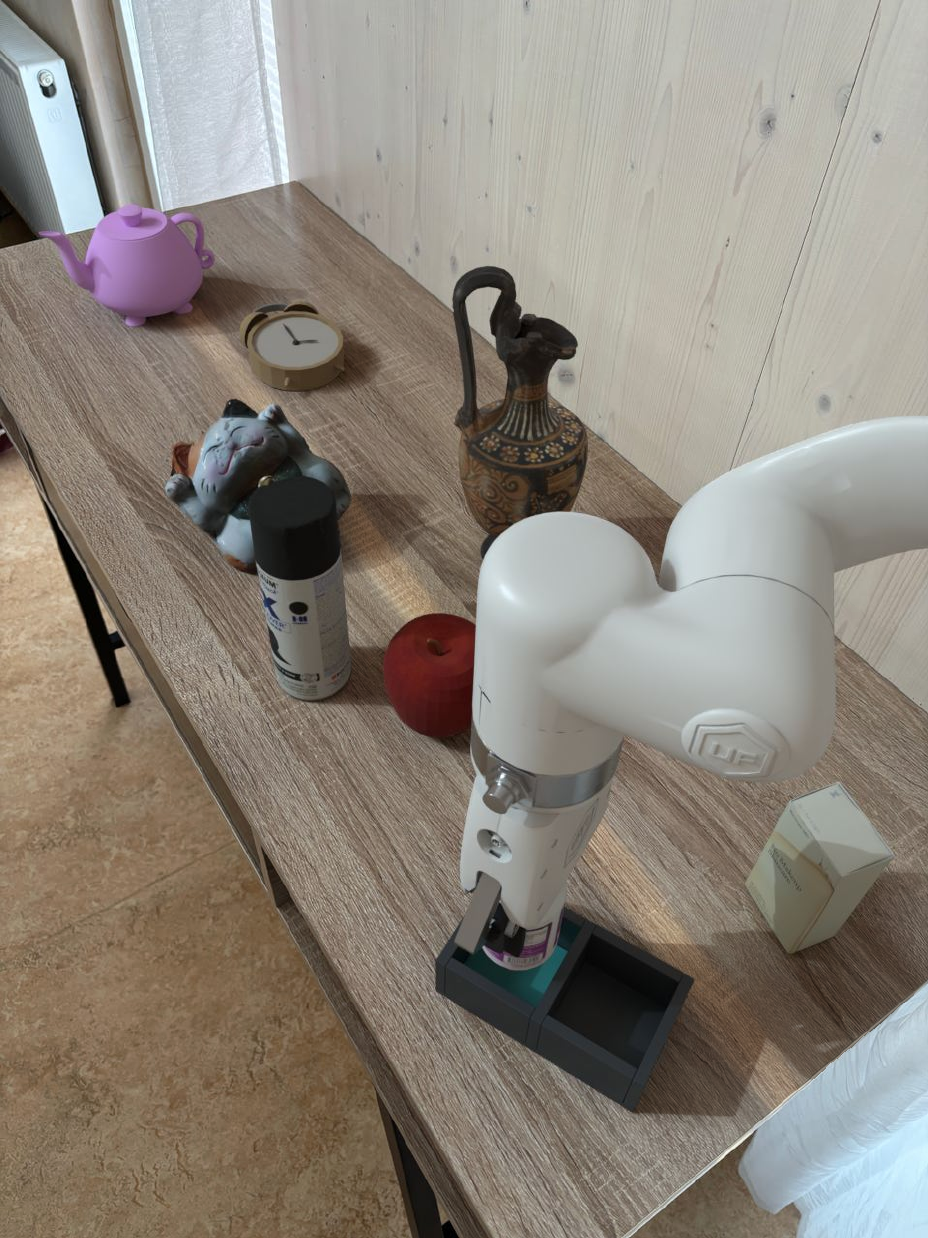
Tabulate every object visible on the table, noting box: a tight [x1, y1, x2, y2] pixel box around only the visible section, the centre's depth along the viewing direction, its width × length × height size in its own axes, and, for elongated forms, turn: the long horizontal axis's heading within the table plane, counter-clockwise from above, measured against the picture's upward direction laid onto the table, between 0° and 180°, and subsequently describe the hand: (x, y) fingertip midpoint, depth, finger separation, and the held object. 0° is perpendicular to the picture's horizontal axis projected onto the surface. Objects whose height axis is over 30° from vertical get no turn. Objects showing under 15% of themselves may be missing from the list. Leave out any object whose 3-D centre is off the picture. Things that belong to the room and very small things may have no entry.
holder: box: [434, 906, 696, 1114], centre depth 69 cm, size 15×8×5 cm, turn 59°
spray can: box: [248, 475, 352, 702], centre depth 82 cm, size 7×7×20 cm
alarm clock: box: [238, 300, 346, 392], centre depth 121 cm, size 11×5×15 cm
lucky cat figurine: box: [164, 398, 352, 575], centre depth 98 cm, size 15×12×14 cm
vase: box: [451, 265, 589, 561], centre depth 90 cm, size 12×12×30 cm
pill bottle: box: [482, 881, 568, 970], centre depth 64 cm, size 5×5×10 cm
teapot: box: [38, 204, 215, 327], centre depth 125 cm, size 20×14×12 cm
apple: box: [382, 612, 476, 738], centre depth 83 cm, size 10×10×10 cm
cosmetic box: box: [744, 781, 894, 955], centre depth 71 cm, size 6×4×12 cm
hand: (522, 901), depth 64 cm, fingers closed on pill bottle, 5 cm apart
